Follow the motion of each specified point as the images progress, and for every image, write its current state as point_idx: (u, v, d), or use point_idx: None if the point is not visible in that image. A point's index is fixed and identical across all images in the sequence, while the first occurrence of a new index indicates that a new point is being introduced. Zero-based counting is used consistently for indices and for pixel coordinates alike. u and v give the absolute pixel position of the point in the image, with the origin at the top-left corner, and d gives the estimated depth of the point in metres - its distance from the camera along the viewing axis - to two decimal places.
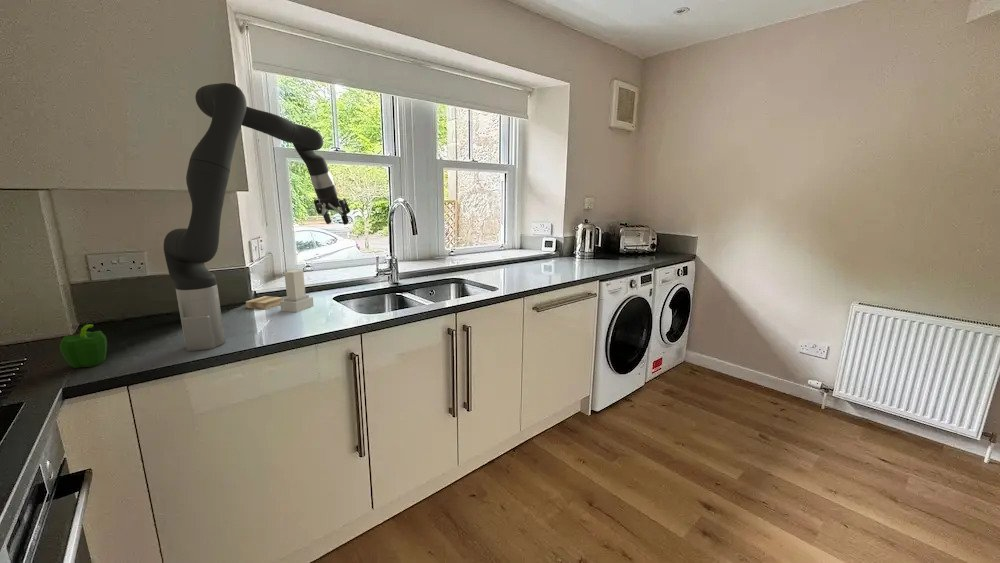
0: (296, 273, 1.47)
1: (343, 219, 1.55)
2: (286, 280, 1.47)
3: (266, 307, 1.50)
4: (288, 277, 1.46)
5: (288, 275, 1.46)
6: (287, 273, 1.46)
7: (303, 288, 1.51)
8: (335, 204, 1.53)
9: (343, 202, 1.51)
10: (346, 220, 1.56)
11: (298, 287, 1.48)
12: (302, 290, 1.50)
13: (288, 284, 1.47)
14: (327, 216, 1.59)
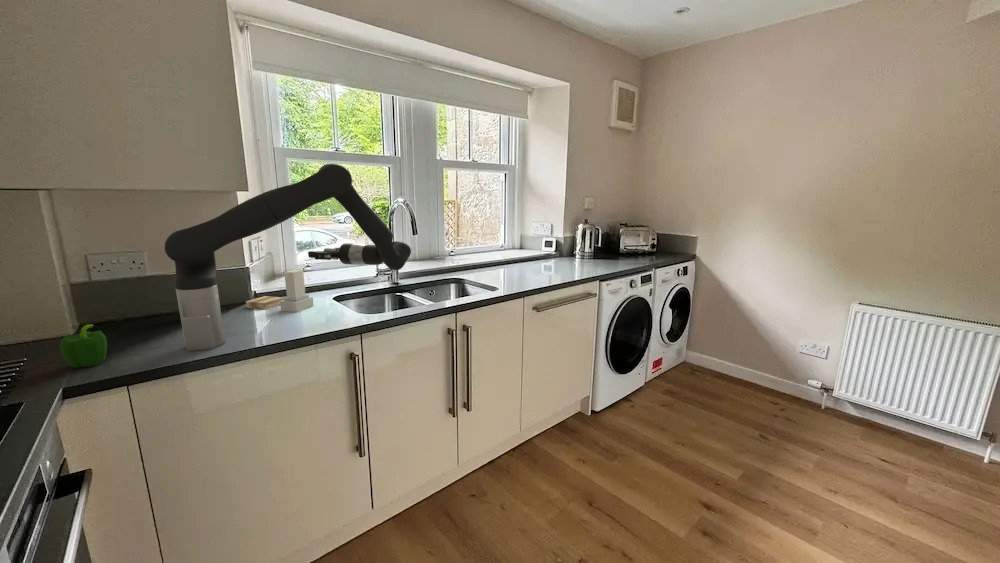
0: (296, 273, 1.47)
1: (313, 251, 1.39)
2: (286, 280, 1.47)
3: (266, 307, 1.50)
4: (288, 277, 1.46)
5: (288, 275, 1.46)
6: (287, 273, 1.46)
7: (303, 288, 1.51)
8: (331, 251, 1.39)
9: (326, 255, 1.35)
10: (310, 253, 1.38)
11: (298, 287, 1.48)
12: (302, 290, 1.50)
13: (288, 284, 1.47)
14: None
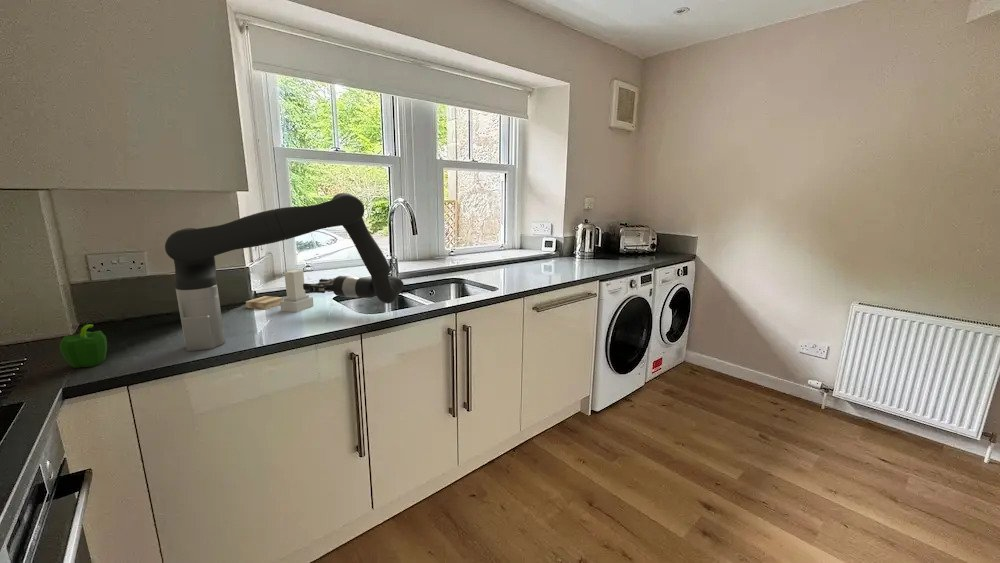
0: (296, 273, 1.47)
1: (308, 284, 1.42)
2: (286, 280, 1.47)
3: (266, 307, 1.50)
4: (288, 277, 1.46)
5: (288, 275, 1.46)
6: (287, 273, 1.46)
7: None
8: (325, 284, 1.42)
9: (320, 288, 1.38)
10: (305, 286, 1.42)
11: (298, 287, 1.48)
12: (302, 290, 1.50)
13: (288, 284, 1.47)
14: None
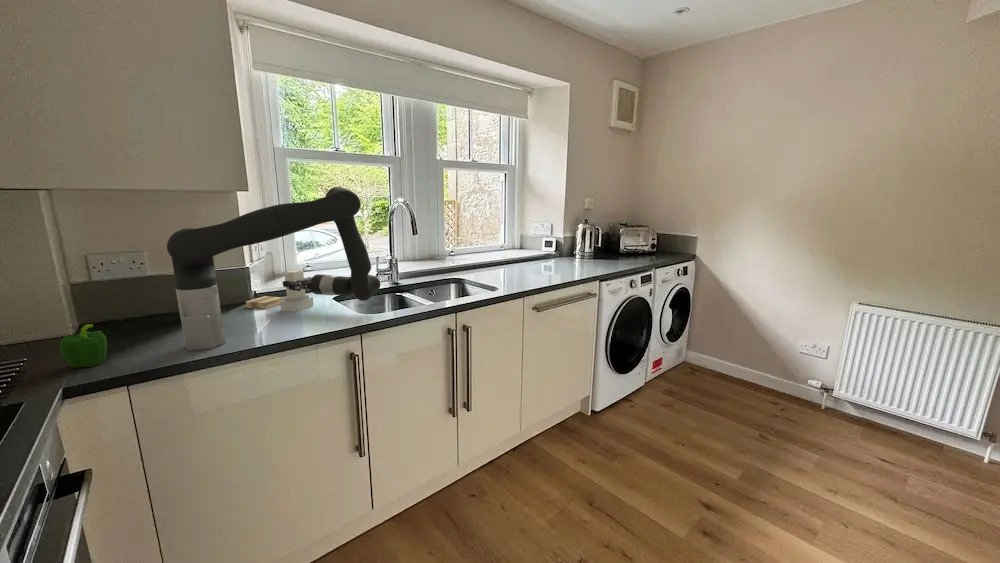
0: (296, 273, 1.47)
1: (287, 281, 1.46)
2: (286, 280, 1.47)
3: (266, 307, 1.50)
4: (288, 277, 1.46)
5: (288, 275, 1.46)
6: (287, 273, 1.46)
7: None
8: (302, 282, 1.44)
9: (295, 286, 1.41)
10: (285, 283, 1.46)
11: None
12: (302, 290, 1.50)
13: None
14: None
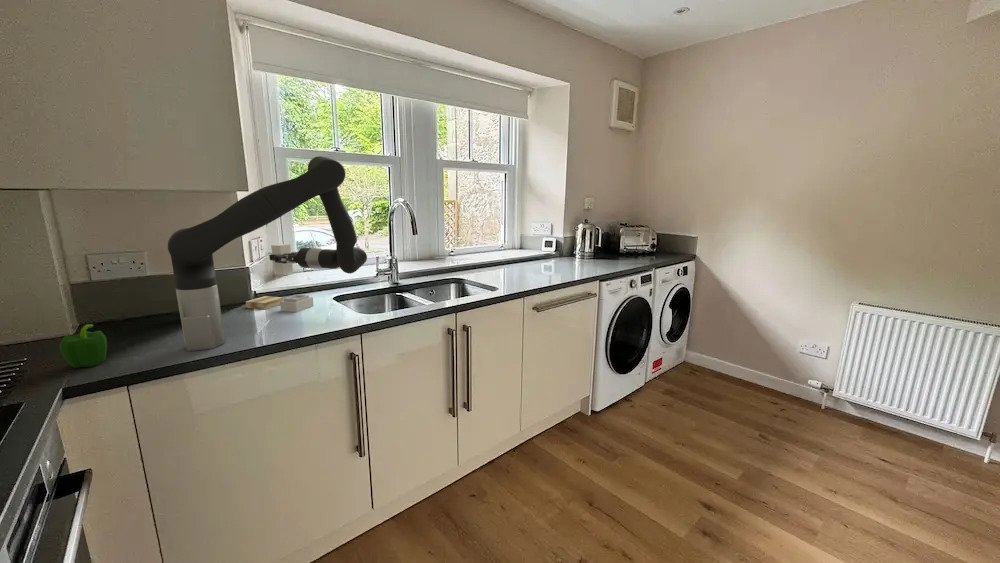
0: (283, 246, 1.46)
1: (274, 254, 1.45)
2: None
3: (266, 307, 1.50)
4: (275, 250, 1.45)
5: (275, 248, 1.45)
6: (274, 246, 1.45)
7: None
8: (289, 255, 1.43)
9: (281, 258, 1.40)
10: (271, 256, 1.45)
11: None
12: (289, 264, 1.49)
13: None
14: None
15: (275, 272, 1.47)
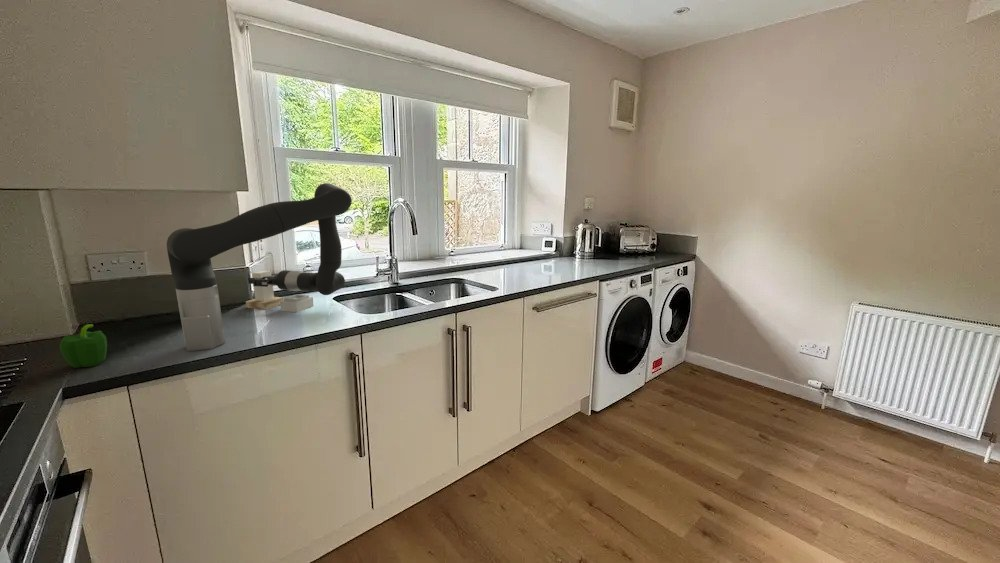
0: (263, 274, 1.50)
1: (252, 278, 1.48)
2: None
3: (266, 307, 1.50)
4: None
5: (255, 276, 1.50)
6: (254, 274, 1.50)
7: (271, 288, 1.54)
8: (269, 278, 1.48)
9: (263, 282, 1.44)
10: (250, 280, 1.47)
11: (265, 288, 1.52)
12: (270, 291, 1.54)
13: None
14: None
15: (256, 298, 1.52)
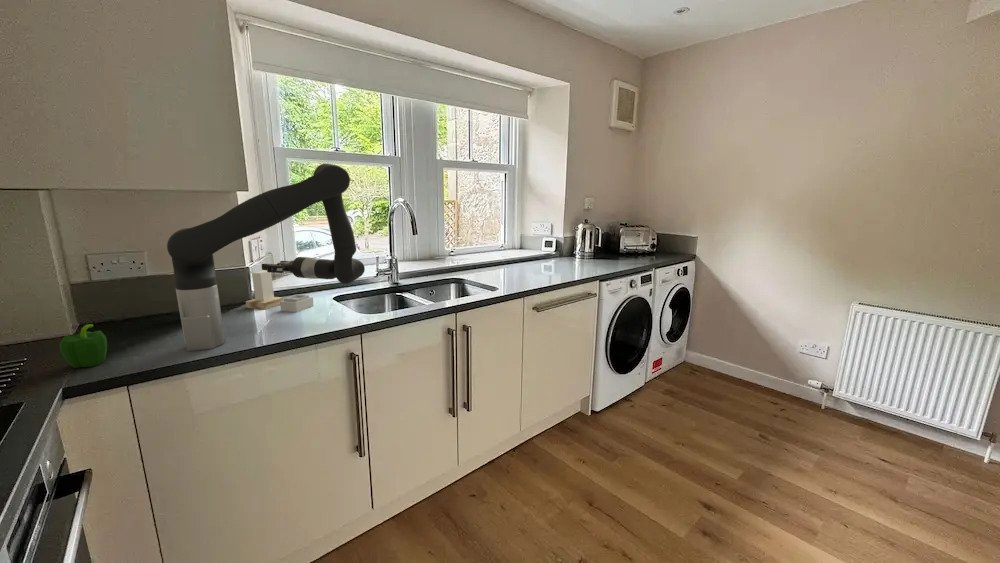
0: (263, 274, 1.50)
1: (266, 264, 1.39)
2: (253, 281, 1.51)
3: (266, 307, 1.50)
4: (255, 278, 1.50)
5: (255, 276, 1.50)
6: (254, 274, 1.50)
7: (271, 288, 1.54)
8: (284, 265, 1.39)
9: (278, 268, 1.36)
10: (263, 266, 1.39)
11: (265, 288, 1.52)
12: (270, 291, 1.54)
13: (256, 284, 1.51)
14: None
15: (256, 298, 1.52)
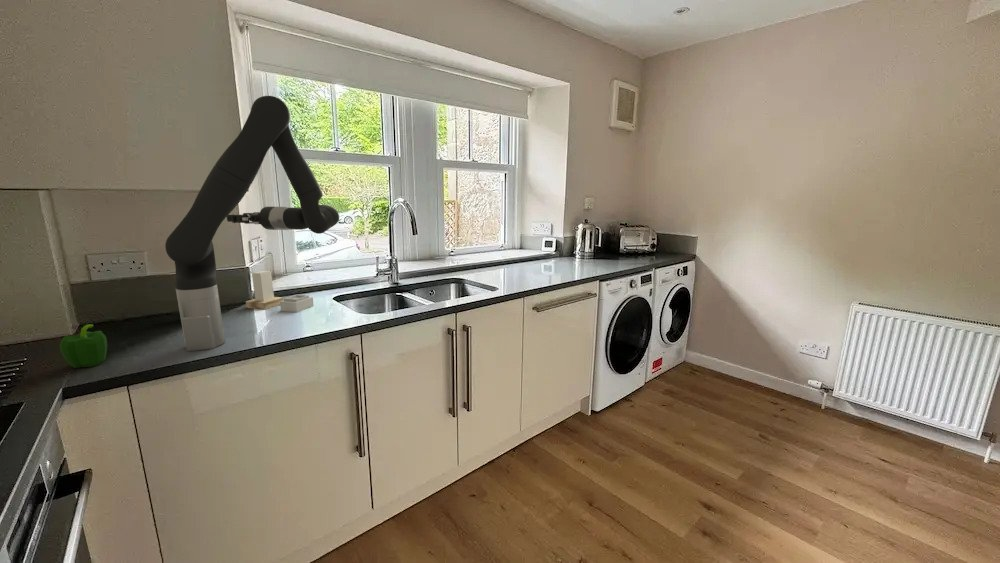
0: (263, 274, 1.50)
1: (232, 215, 1.27)
2: (253, 281, 1.51)
3: (266, 307, 1.50)
4: (255, 278, 1.50)
5: (255, 276, 1.50)
6: (254, 274, 1.50)
7: (271, 288, 1.54)
8: (251, 215, 1.27)
9: (243, 217, 1.23)
10: (228, 217, 1.26)
11: (265, 288, 1.52)
12: (270, 291, 1.54)
13: (256, 284, 1.51)
14: None
15: (256, 298, 1.52)
